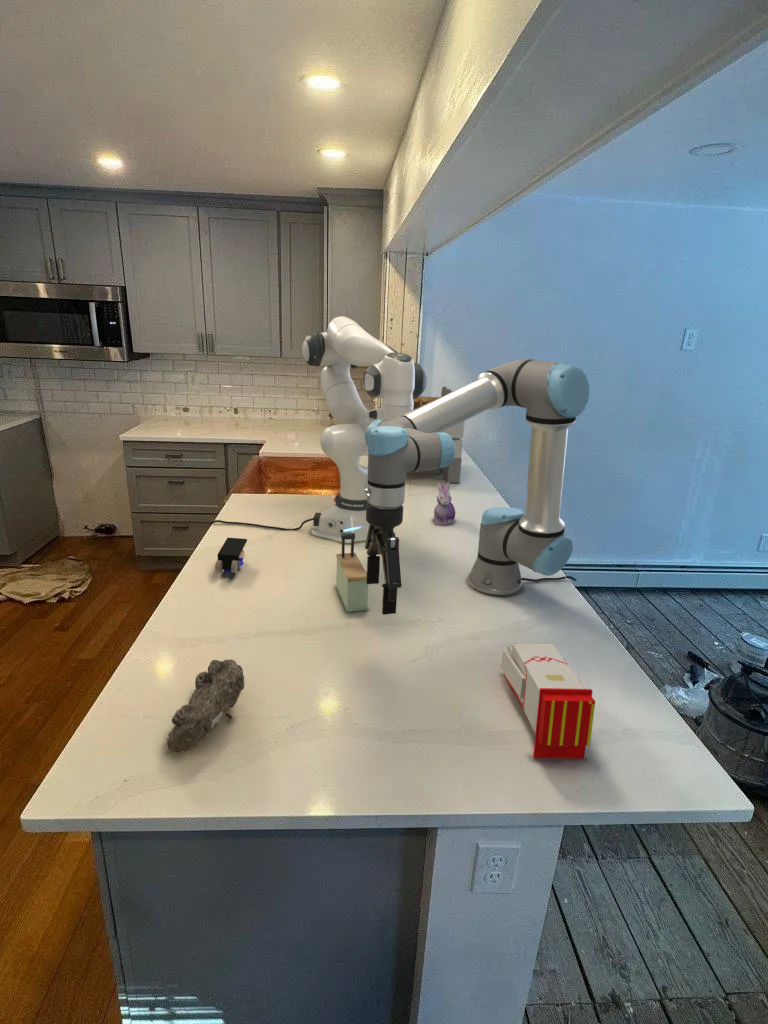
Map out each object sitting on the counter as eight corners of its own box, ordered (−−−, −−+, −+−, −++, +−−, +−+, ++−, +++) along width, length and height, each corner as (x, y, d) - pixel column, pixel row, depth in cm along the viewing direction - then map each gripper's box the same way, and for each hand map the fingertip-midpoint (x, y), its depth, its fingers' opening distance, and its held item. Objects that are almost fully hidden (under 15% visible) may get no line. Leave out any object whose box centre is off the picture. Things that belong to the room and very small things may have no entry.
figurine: (440, 527, 207) (443, 488, 202) (426, 518, 215) (428, 480, 210) (462, 524, 211) (465, 485, 206) (446, 515, 220) (450, 478, 215)
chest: (336, 586, 161) (336, 558, 158) (354, 584, 162) (355, 557, 159) (347, 612, 147) (347, 581, 144) (367, 609, 149) (368, 580, 146)
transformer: (382, 463, 289) (386, 382, 275) (445, 464, 293) (451, 384, 279) (390, 482, 257) (394, 392, 243) (460, 483, 261) (468, 394, 247)
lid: (336, 557, 158) (336, 530, 155) (355, 555, 160) (355, 529, 157) (347, 581, 144) (348, 552, 142) (368, 580, 146) (369, 551, 143)
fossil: (192, 660, 117) (244, 628, 112) (224, 691, 120) (276, 661, 115) (142, 746, 98) (202, 712, 93) (182, 779, 101) (242, 748, 96)
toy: (549, 626, 126) (605, 697, 97) (544, 681, 129) (596, 766, 100) (495, 625, 126) (534, 696, 96) (491, 680, 128) (528, 765, 99)
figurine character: (238, 584, 162) (249, 557, 175) (236, 562, 158) (247, 536, 172) (215, 584, 161) (227, 556, 175) (212, 561, 158) (225, 535, 171)
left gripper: (434, 418, 152) (431, 468, 156) (376, 408, 164) (375, 455, 169) (420, 421, 147) (417, 472, 152) (362, 411, 159) (361, 458, 164)
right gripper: (353, 486, 125) (351, 573, 132) (383, 527, 102) (378, 629, 109) (386, 485, 127) (382, 571, 134) (422, 525, 104) (415, 625, 111)
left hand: (394, 463), depth 160 cm, fingers open, 8 cm apart
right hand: (380, 597), depth 122 cm, fingers open, 13 cm apart
